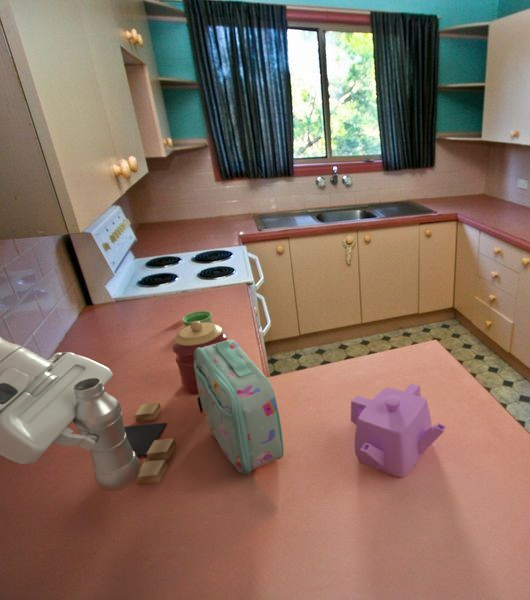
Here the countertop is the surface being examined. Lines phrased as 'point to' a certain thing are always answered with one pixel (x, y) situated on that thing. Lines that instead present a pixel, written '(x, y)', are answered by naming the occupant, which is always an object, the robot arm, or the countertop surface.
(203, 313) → the ramekin
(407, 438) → the teakettle
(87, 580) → the countertop surface
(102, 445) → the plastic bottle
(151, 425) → the mat
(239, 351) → the lunch box
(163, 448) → the tile
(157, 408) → the back tile
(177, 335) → the kitchen canister
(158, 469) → the front tile
